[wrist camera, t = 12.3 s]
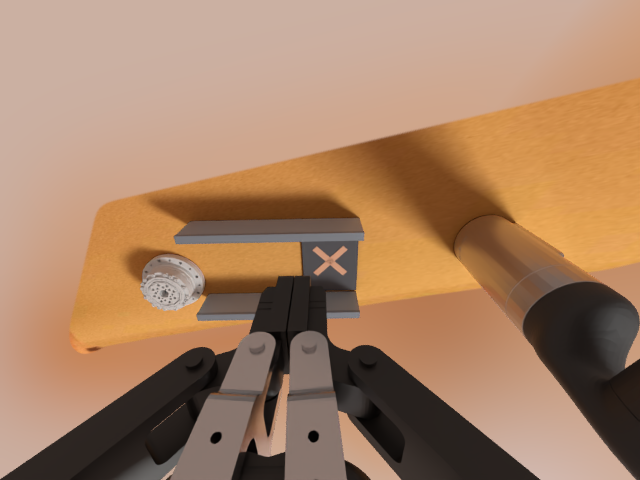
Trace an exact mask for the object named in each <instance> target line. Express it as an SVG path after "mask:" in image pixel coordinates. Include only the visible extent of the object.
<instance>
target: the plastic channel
mask: <svg viewBox="0 0 640 480" xmlns="http://www.w3.org/2000/svg"><path fill="white" fill-rule="evenodd" d="M174 239H175V243H176V244H210V243H262V242H314V241H364V231H363V228H362V225H361V222H360V219H359V218H320V219H270V220H220V221H190V222H189V223H188V224H187V225H186V226H185V227H184V228H183V229H182V230H181V231H180V232H179V233H178V234H177V235H175V236H174ZM261 294H262V293H228V294H208V296H207V298H206V300H205V301H204V303H203V305H202V307H201V309H200V310H199V312H198V313H197V318H198V321H211V320H254V316H255V313H256V310H257V306H258V304H259V300H260V296H261ZM326 309H327V319H328V318H359V316H360V311H359V306H358V301H357V295H356V291H340V292H326Z"/></svg>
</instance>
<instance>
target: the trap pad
mask: <svg viewBox="0 0 640 480" xmlns="http://www.w3.org/2000/svg"><path fill="white" fill-rule="evenodd" d="M302 256H303V274H304V276H310V277H311V286H322V288H323V289H324V291H327V290H356V280H357V258H358V241H314V242H302Z"/></svg>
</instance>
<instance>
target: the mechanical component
mask: <svg viewBox="0 0 640 480" xmlns="http://www.w3.org/2000/svg"><path fill="white" fill-rule="evenodd" d="M142 280H143V281H142V283H141V288H140V290H142V293H143V295H144V299H147V300H148V301H149V302H150V303H152V306H153V307H155V306H156V307H157V308H158V309H163V310H164V311H166V310H175V311H176V310H178V309H180V308H182V307H184V306H185V305H188V304H192V303H193V302H195V301H197V300H198V299H199V298H200V296H201V294H202V292H203V290H204V288H205V279H204V275H203V273H202V272H201V270H200V269H199V268H198V266H197V265H196V264H194V263H193V262H192V261H190V260H189V259H187V258H185V257H182V256H179V255H174V254H163V255H159V256H156V257H155V258H153V259H152V260H150V261H149V262H148V263H147V264H146V266H145V268H144V269H143V273H142Z"/></svg>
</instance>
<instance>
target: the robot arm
mask: <svg viewBox="0 0 640 480" xmlns="http://www.w3.org/2000/svg"><path fill="white" fill-rule="evenodd" d="M454 251H455V254H456V256H457V258H458V259H459V260H460V261H461V263H462V264H463V265H464V266H465V267H466V269H467V270H468V271H469V272H470V274H471V275H472V276H473V277H474V278H475V279H476V281H477V282H478V283H479V284H480V285H481V286H482V288H483V289H484V290H485V291H486V292H487V293H488V295H489V296H490V297H491V298H492V299H493V300H494V302H495V303H496V304H497V305H498V306H499V308H500V309H501V310H502V311H503V312H504V313H505V315H506V316H507V317H508V318H509V319H510V320H511V322H512V323H513V324H514V325H515V326H516V327H517V328H518V330H519V331H520V332H521V333H522V334H523V336H524V337H525V338H526V339H527V340H528V341H529V343H530V344H531V345H532V346H533V347H534V349H535V351H536V353H537V355H538V357H539V358H540V359H541V361H542V362H543V363H544V364H545V366H546V367H547V368H548V370H549V371H550V372H551V373H552V374H553V376H554V377H555V378H556V380H557V381H558V382H559V383H560V385H561V386H562V387H563V389H564V390H565V391H566V393H567V394H568V395H569V396H570V398H571V399H572V400H573V402H574V403H575V405H576V406H577V407H578V409H579V410H580V411H581V413H582V414H583V415H584V417H585V418H586V419H587V421H588V422H589V423H590V425H591V426H592V427H593V428H594V430H595V431H596V432H597V434H598V435H599V436H600V438H601V439H602V440H603V441H604V443H605V444H606V445H607V446H608V448H609V449H610V450H611V451H612V452H613V454H614V455H615V456H616V457H617V458H618V460H619V461H620V462H621V463H622V464H623V465H624V466H625V467H626V469H627V470H628V471H629V472H630V473H631V474H632V476H633V477H634V478H635V479H636V480H640V359H639V360H637V361H636V362H635V363H633V364H632V365H630V366H629V367H627V368H626V369H625V362H626V358H627V355H628V352H629V350H630V348H631V346H632V344H633V341H634V339H635V338H636V335H637V333H638V330H639V324H640V321H639V315H638V312H637V310H636V308H635V307H634V306H633V305H632V303H631V302H630V301H628V300H627V299H626V298H625V297H623V296H622V295H620V294H619V293H617V292H616V291H614V290H613V289H611V288H610V287H608V286H606V285H605V284H603V283H602V282H600V281H599V280H597V279H596V278H594V277H593V276H591V275H590V274H588V273H587V272H585V271H584V270H582V269H580V268H579V267H577V266H576V265H574V264H573V263H571V262H570V261H568V260H567V259H565V258H564V254H563V253H562V252H560V251H559V250H557V249H556V248H554V247H553V246H551V245H550V244H548V243H546V242H545V241H543V240H542V239H540V238H539V237H537V236H536V235H534V234H533V233H531V232H529V231H528V230H526V229H525V228H523V227H522V226H520V225H519V224H517V223H515V224H513V223H511V222H510V221H508V220H507V219H505V218H503V217H501V216H496V215H486V216H481V217H479V218H476V219H474V220H472V221H471V222H469V223H468V224H467V225H465V226H464V227H463V228H462V229H461V231H460V232H459V233H458V235H457V237H456V240H455V243H454ZM284 374H290V379H289V394H288V397H287V421H286V452H284V453H280V454H277V455H274V456H271V444H272V438H273V433H274V429H275V423H276V419H277V414H278V409H279V405H280V400H281V395H282V383H283V375H284ZM184 403H185V404H184ZM183 404H184V405H183ZM182 405H183V406H182ZM179 407H180V408H179ZM178 408H179V409H178ZM177 409H178V410H177ZM176 410H177V411H176ZM338 411H341V412H344V413H347V415H348V417H349V419H350V420H351V421H352V423H353V424H354V425H355V426H356V427H357V429H358V430H359V431H360V432H361V433H362V434H363V436H364V437H365V438H366V439H367V440H368V441H369V442H370V444H371V445H372V446H373V447H374V448H375V449H376V451H377V452H378V453H379V454H380V455H381V456H382V458H383V459H384V460H385V461H386V462H387V463H388V464H389V466H390V467H391V468H392V469H393V470H394V471H395V472H396V474H397V475H398V476H399V477H400V478H401V480H540V479H539V478H537V477H536V476H535V475H534V474H533V473H531V472H530V471H529V470H528V469H526V468H525V467H524V466H523V465H522V464H520V463H519V462H518V461H517V460H515V459H514V458H513V457H512V456H510V455H509V454H508V453H507V452H506V451H504V450H503V449H502V448H501V447H499V446H498V445H497V444H496V443H494V442H493V441H492V440H491V439H489V438H488V437H487V436H486V435H484V434H483V433H482V432H481V431H480V430H478V429H477V428H476V427H475V426H474V425H472V424H471V423H469V421H467V420H466V419H465V418H463V417H462V416H461V415H460V414H459V413H458V412H456V411H455V410H454V409H453V408H451V407H450V406H449V405H448V404H446V403H445V402H444V401H443V400H441V399H440V398H439V397H438V396H437V395H435V394H434V393H433V392H431V391H430V390H429V389H428V388H427V387H425V386H424V385H423V384H422V383H421V382H419V381H418V380H417V379H416V378H414V377H413V376H412V375H410V374H409V373H408V372H407V371H406V370H405V369H403V368H402V367H401V366H400V365H398V364H397V363H396V362H395V361H393V360H392V359H391V358H390V357H389V356H387V355H386V354H385V353H383V352H382V351H381V350H380V349H378V348H376V347H373V346H370V345H361V346H358V347H356V348H354V349H353V350H352V351H347V350H343V349H340V348H338V347H336V346H334V345H333V344H332V343H331V341H330V340H329V338H328V336H327V309H326V292H325V291H324V289H323V288H322V286H311V277H310V276H295V277H294V276H279V277H278V281H277V286H276V287H267V288H266V289H265V290H264V292H263V293H262V294H261V296H260V300H259V304H258V306H257V310H256V313H255V316H254V320H253V323H252V327H251V330H250V333H249V335H247V336H246V337H244V338H243V339H242V341H241V342H240V343H239V345H238V348H236V349H234V350H232V351H229V352H225V353H222V354H218V355H215V354H214V352H213V351H212V350H211V349H209V348H205V347H199V348H194V349H191V350H189V351H187V352H186V353H184V354H182V355H181V356H179V357H178V358H177V359H175V360H174V361H172V362H171V363H169V364H168V365H166V366H165V367H164V368H162V369H161V370H159V371H158V372H156V373H155V374H153V375H152V376H150V377H149V378H147V379H146V380H145V381H143V382H142V383H140V384H139V385H137V386H136V387H134V388H133V389H131V390H130V391H128V392H127V393H126V394H124V395H123V396H121V397H120V398H118V399H117V400H115V401H114V402H112V403H111V404H109V405H108V406H107V407H105V408H104V409H102V410H101V411H99V412H98V413H96V414H95V415H93V416H92V417H91V418H89V419H88V420H86V421H85V422H83V423H82V424H80V425H79V426H77V427H76V428H74V429H73V430H72V431H70V432H69V433H67V434H66V435H64V436H63V437H61V438H60V439H58V440H57V441H56V442H54V443H53V444H51V445H50V446H48V447H47V448H45V449H44V450H42V451H41V452H40V453H38V454H37V455H35V456H34V457H32V458H31V459H29V460H28V461H26V462H25V463H23V464H22V465H20V466H19V467H18V468H16V469H15V470H13V471H12V472H10V473H9V474H8V475H6V476H5V477H3V478H2V479H0V480H161V479H162V478H163V477H164V476H165V475H166V474H167V473H168V472H169V471H170V470H171V469H173V468H174V466H176V468H175V470H174V472H173V474H172V475H171V476H170V477H169V478H167V479H166V480H370V478H369V477H368V476H367V475H366V474H365V473H364V472H362V471H361V470H360V469H359V468H358V467H356V466H355V465H353V464H352V463H350V462H348V461H346V460H344V454H343V448H342V439H341V431H340V424H339V416H338ZM173 412H174V413H173ZM172 413H173V414H172ZM171 414H172V415H171ZM168 416H169V417H168ZM167 417H168V418H167ZM166 418H167V419H166ZM165 419H166V420H165ZM163 420H164V421H163ZM162 421H163V422H162ZM161 422H162V423H161ZM160 423H161V424H160ZM157 425H158V426H157ZM156 426H157V427H156ZM155 427H156V428H155ZM154 428H155V429H154Z"/></svg>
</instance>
